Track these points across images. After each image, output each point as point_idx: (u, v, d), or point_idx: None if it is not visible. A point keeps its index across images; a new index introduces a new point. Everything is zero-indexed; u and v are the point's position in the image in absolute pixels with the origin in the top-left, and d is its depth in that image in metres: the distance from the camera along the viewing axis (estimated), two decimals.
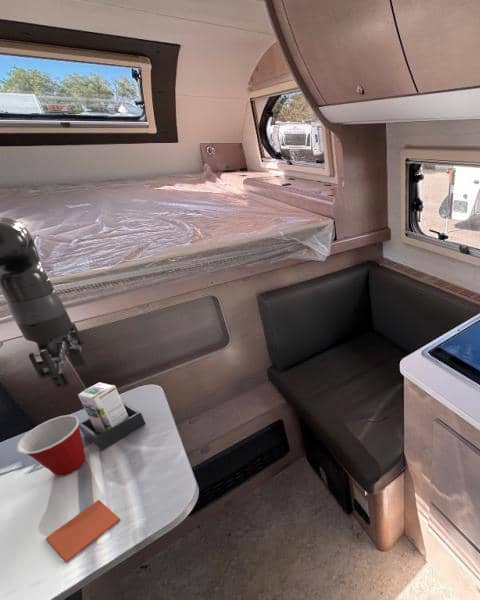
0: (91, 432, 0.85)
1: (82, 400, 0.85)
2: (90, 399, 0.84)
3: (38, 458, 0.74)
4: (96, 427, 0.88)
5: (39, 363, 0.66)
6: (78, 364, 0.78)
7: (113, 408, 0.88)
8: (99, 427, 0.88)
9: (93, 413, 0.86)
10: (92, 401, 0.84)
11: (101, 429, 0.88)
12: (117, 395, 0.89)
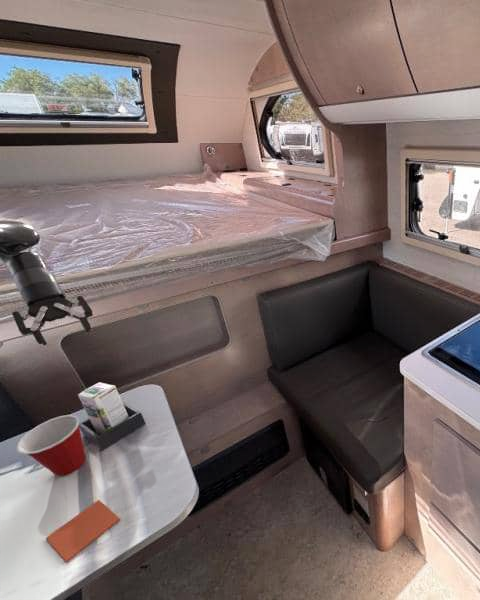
0: (91, 432, 0.85)
1: (82, 400, 0.85)
2: (90, 399, 0.84)
3: (38, 458, 0.74)
4: (96, 427, 0.88)
5: None
6: (45, 341, 0.84)
7: (113, 408, 0.88)
8: (99, 427, 0.88)
9: (93, 413, 0.86)
10: (92, 401, 0.84)
11: (101, 429, 0.88)
12: (117, 395, 0.89)
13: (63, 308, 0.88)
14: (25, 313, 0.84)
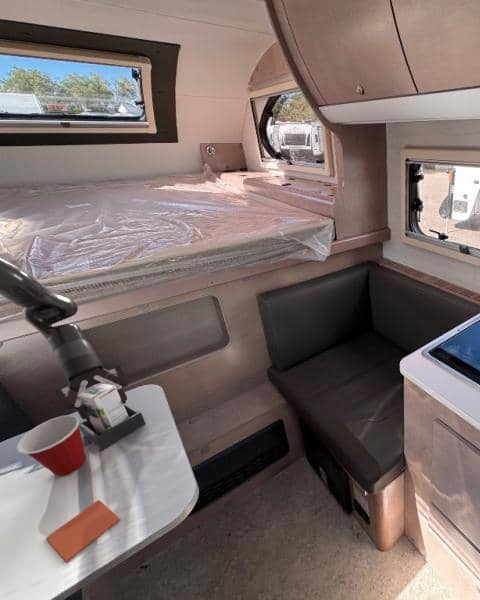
0: (91, 432, 0.85)
1: (82, 400, 0.85)
2: (90, 399, 0.84)
3: (38, 458, 0.74)
4: (96, 427, 0.88)
5: None
6: None
7: (113, 408, 0.88)
8: (99, 427, 0.88)
9: (93, 414, 0.86)
10: (92, 401, 0.84)
11: (101, 429, 0.88)
12: (117, 395, 0.89)
13: (102, 381, 0.89)
14: (66, 389, 0.85)
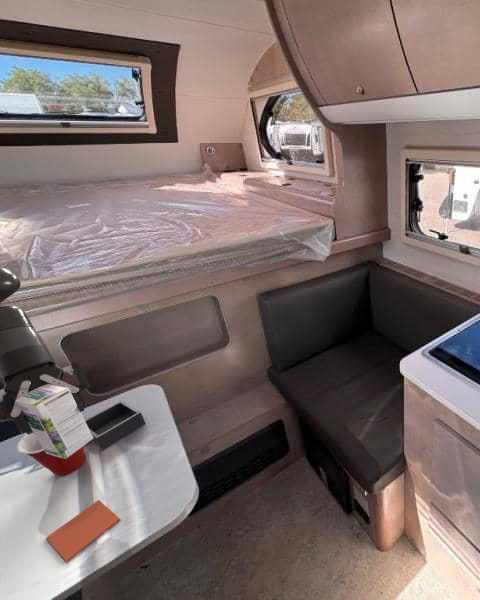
0: (91, 432, 0.85)
1: (21, 407, 0.63)
2: (32, 407, 0.62)
3: (38, 458, 0.74)
4: (43, 443, 0.66)
5: None
6: (31, 429, 0.63)
7: (65, 418, 0.66)
8: (46, 443, 0.66)
9: (37, 425, 0.64)
10: (34, 409, 0.62)
11: (49, 446, 0.66)
12: (72, 401, 0.67)
13: (51, 381, 0.67)
14: (0, 393, 0.63)
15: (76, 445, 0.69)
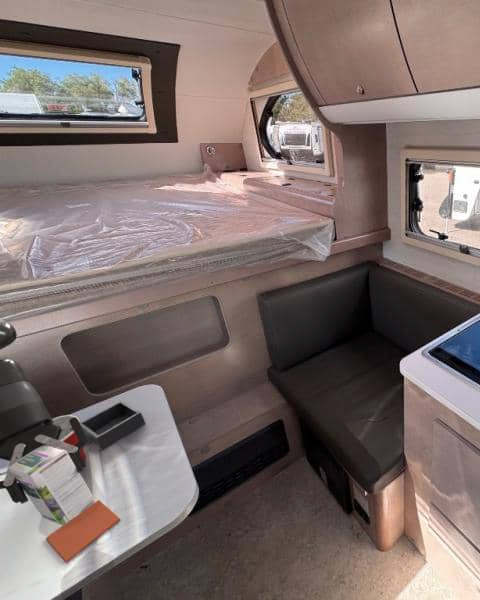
0: (91, 432, 0.85)
1: (15, 475, 0.58)
2: (26, 476, 0.57)
3: None
4: (39, 509, 0.61)
5: None
6: (26, 498, 0.58)
7: (63, 482, 0.61)
8: (43, 509, 0.61)
9: (32, 493, 0.59)
10: (28, 478, 0.57)
11: (46, 512, 0.61)
12: (70, 463, 0.62)
13: (48, 442, 0.62)
14: None
15: (75, 509, 0.64)
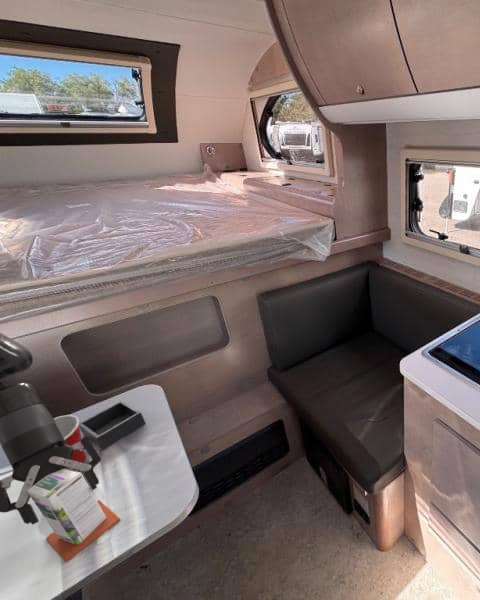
0: (91, 432, 0.85)
1: (33, 498, 0.61)
2: (44, 498, 0.60)
3: None
4: (55, 529, 0.64)
5: None
6: (36, 519, 0.60)
7: (78, 503, 0.64)
8: (59, 530, 0.64)
9: (49, 515, 0.62)
10: (46, 501, 0.60)
11: (61, 532, 0.64)
12: (84, 485, 0.65)
13: (62, 463, 0.64)
14: (8, 480, 0.60)
15: (89, 529, 0.66)
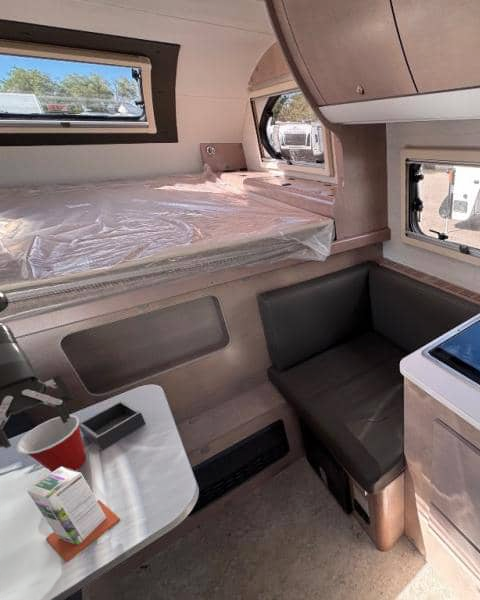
0: (91, 432, 0.85)
1: (33, 498, 0.61)
2: (44, 498, 0.60)
3: (38, 458, 0.74)
4: (55, 529, 0.64)
5: None
6: (9, 443, 0.65)
7: (78, 503, 0.64)
8: (59, 530, 0.64)
9: (49, 515, 0.62)
10: (46, 501, 0.60)
11: (61, 532, 0.64)
12: (84, 485, 0.65)
13: (34, 395, 0.69)
14: None
15: (89, 529, 0.66)
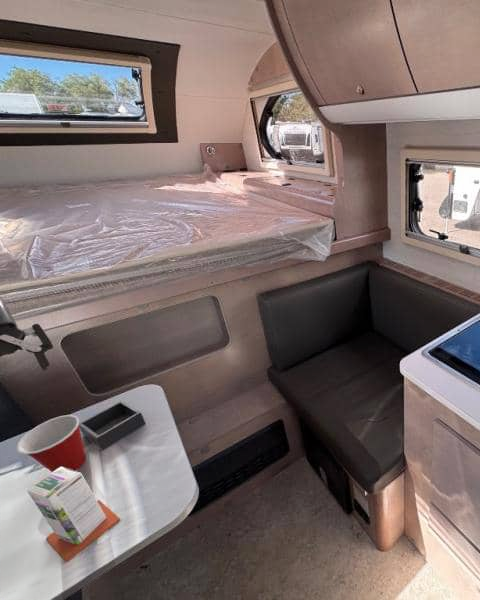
0: (91, 432, 0.85)
1: (33, 498, 0.61)
2: (44, 498, 0.60)
3: (38, 458, 0.74)
4: (55, 529, 0.64)
5: None
6: None
7: (78, 503, 0.64)
8: (59, 530, 0.64)
9: (49, 515, 0.62)
10: (46, 501, 0.60)
11: (61, 532, 0.64)
12: (84, 485, 0.65)
13: (12, 341, 0.69)
14: None
15: (89, 529, 0.66)
